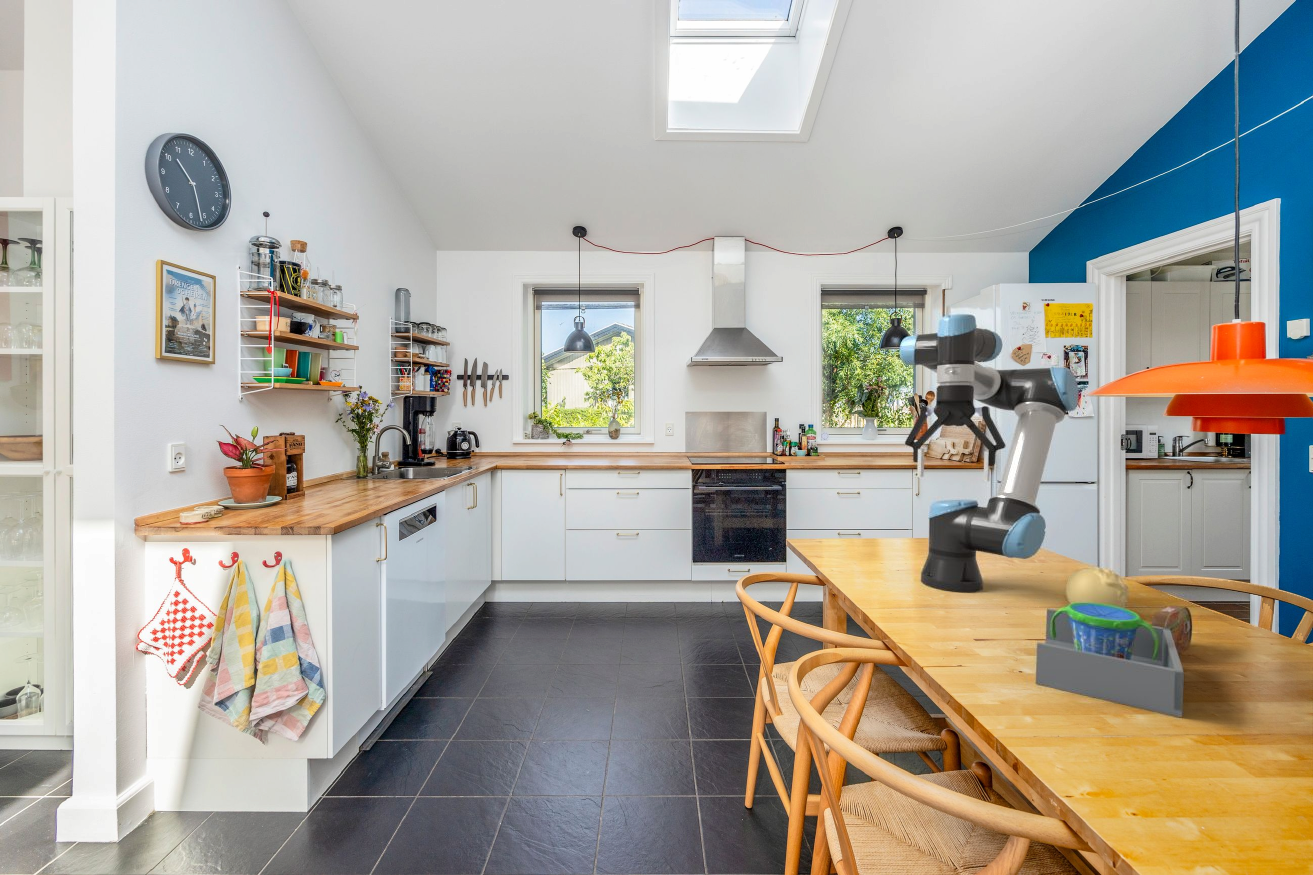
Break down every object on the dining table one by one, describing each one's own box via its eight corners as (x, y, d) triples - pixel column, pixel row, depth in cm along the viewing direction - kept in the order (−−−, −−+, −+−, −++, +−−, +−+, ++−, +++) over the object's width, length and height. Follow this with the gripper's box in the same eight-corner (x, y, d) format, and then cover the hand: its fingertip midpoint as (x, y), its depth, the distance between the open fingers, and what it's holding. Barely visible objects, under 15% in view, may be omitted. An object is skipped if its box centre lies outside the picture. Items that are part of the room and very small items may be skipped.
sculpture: (1134, 623, 134) (1136, 576, 134) (1069, 615, 139) (1071, 569, 139) (1120, 609, 144) (1122, 564, 144) (1061, 601, 150) (1062, 559, 149)
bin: (1046, 642, 123) (1047, 608, 122) (1168, 665, 111) (1169, 628, 111) (1035, 683, 103) (1037, 643, 103) (1181, 717, 92) (1183, 672, 92)
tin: (1166, 662, 113) (1168, 618, 113) (1145, 656, 116) (1147, 613, 116) (1193, 645, 122) (1195, 604, 121) (1173, 640, 124) (1175, 600, 124)
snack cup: (1041, 660, 111) (1043, 605, 110) (1060, 646, 118) (1062, 594, 117) (1149, 690, 99) (1152, 629, 99) (1163, 672, 106) (1165, 615, 106)
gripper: (892, 385, 139) (890, 476, 140) (1017, 382, 125) (1014, 484, 125) (901, 386, 145) (899, 473, 146) (1021, 384, 131) (1018, 481, 131)
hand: (952, 479), depth 136 cm, fingers open, 13 cm apart
